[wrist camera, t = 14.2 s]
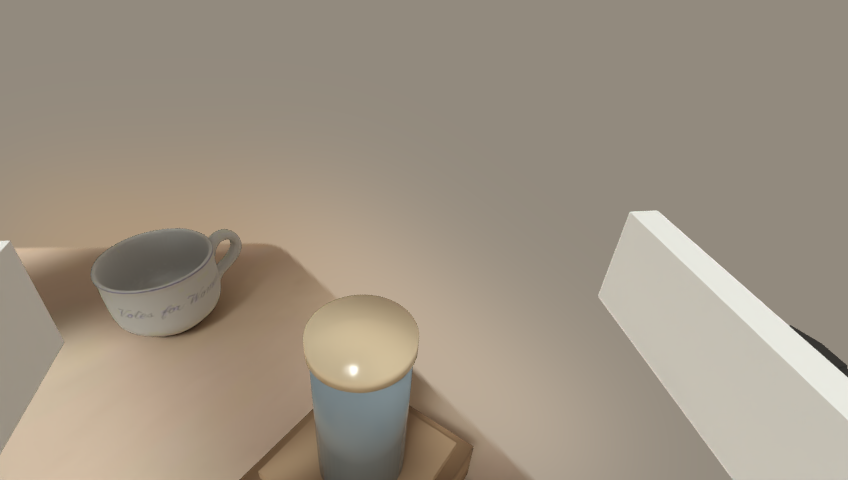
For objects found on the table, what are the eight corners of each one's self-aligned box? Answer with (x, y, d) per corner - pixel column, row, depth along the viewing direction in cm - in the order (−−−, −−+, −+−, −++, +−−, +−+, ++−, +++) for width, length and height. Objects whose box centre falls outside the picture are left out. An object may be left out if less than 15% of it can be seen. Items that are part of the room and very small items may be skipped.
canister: (296, 466, 32) (277, 340, 25) (357, 403, 37) (356, 280, 29) (367, 525, 30) (369, 402, 22) (423, 449, 34) (440, 326, 27)
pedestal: (246, 509, 34) (236, 474, 32) (354, 398, 43) (353, 363, 40) (373, 625, 29) (374, 596, 26) (467, 473, 38) (474, 440, 35)
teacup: (125, 369, 44) (97, 307, 39) (107, 302, 51) (81, 243, 46) (269, 313, 51) (259, 255, 46) (236, 262, 58) (225, 207, 53)
